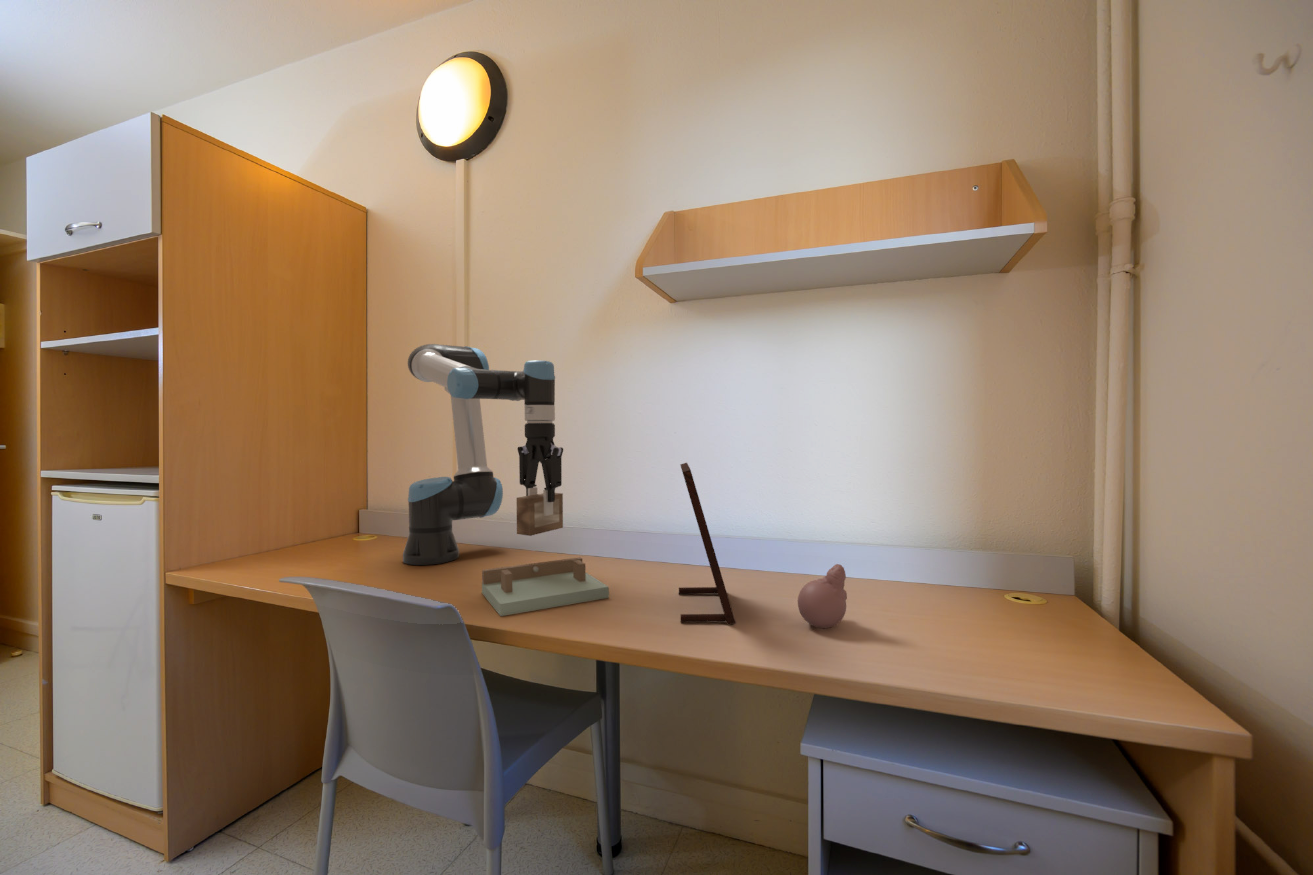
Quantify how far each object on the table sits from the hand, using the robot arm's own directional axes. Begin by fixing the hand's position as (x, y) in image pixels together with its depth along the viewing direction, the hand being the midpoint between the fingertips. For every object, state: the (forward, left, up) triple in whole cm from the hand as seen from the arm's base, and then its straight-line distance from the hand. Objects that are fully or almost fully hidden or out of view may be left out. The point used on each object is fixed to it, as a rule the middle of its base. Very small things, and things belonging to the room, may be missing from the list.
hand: (540, 513), depth 141 cm
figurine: (+60, +37, -16) cm, 72 cm away
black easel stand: (+40, +23, -16) cm, 49 cm away
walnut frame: (0, 0, -4) cm, 4 cm away
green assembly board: (+15, -4, -16) cm, 23 cm away
